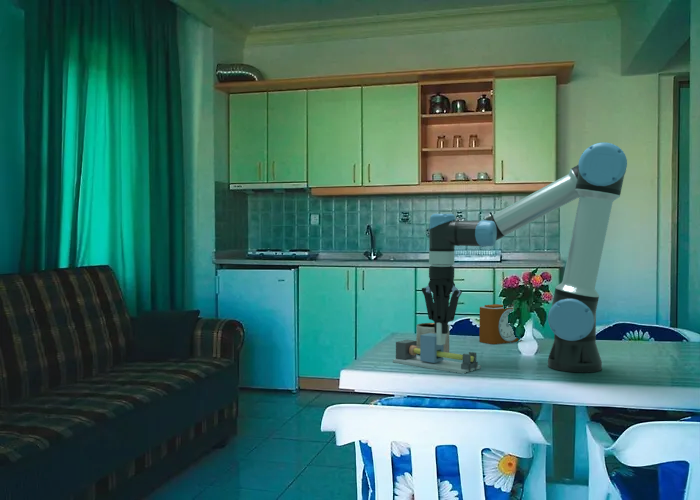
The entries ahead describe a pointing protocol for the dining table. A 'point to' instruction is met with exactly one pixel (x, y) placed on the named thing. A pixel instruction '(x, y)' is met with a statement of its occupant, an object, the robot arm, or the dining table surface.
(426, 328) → the planter
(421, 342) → the sleeve
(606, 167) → the robot arm
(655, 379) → the dining table surface
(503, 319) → the alarm clock
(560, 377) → the dining table surface
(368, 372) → the dining table surface
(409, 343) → the sliding block rail
